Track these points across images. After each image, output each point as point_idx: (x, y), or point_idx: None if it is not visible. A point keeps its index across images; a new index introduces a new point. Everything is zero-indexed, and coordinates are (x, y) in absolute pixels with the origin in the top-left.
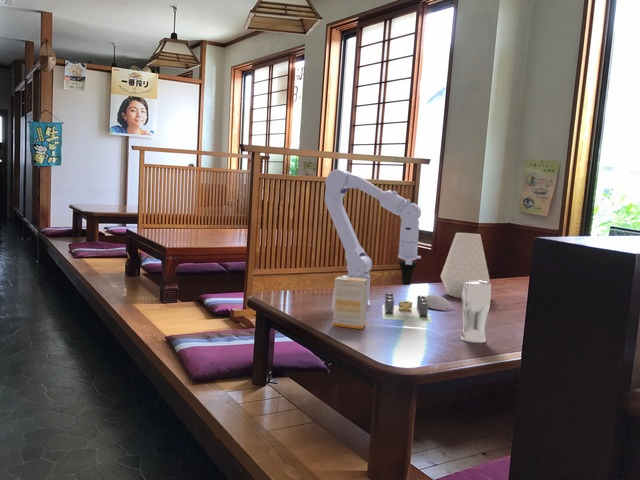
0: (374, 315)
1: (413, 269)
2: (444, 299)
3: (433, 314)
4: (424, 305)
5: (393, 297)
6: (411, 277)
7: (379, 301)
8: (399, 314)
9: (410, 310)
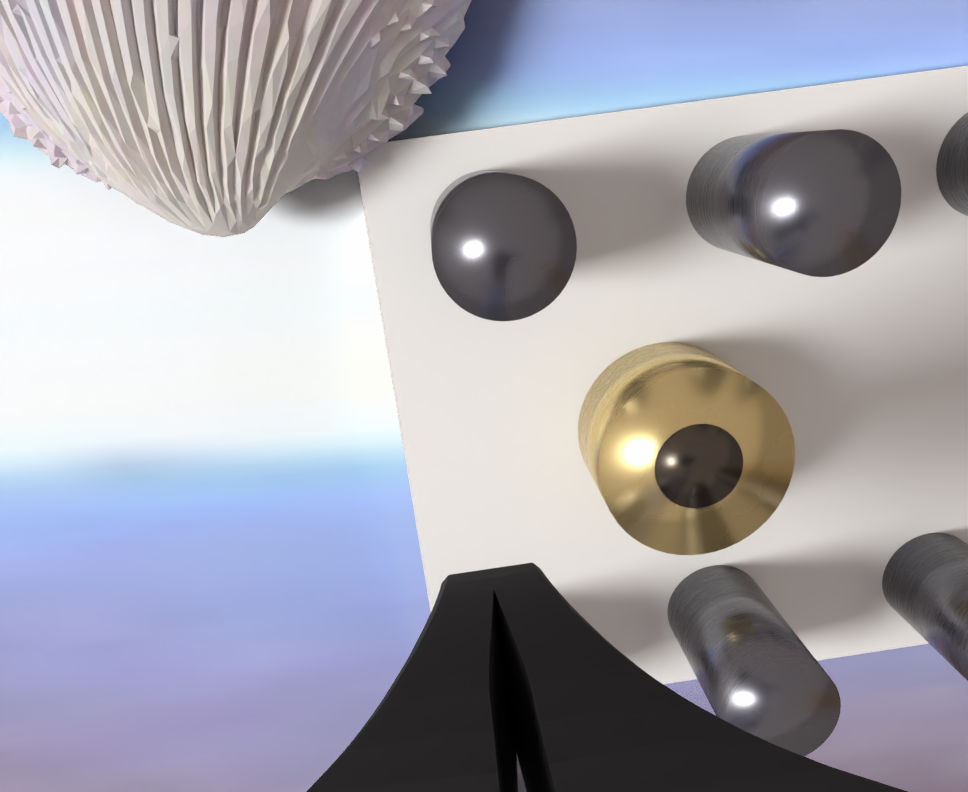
0: (953, 695)
1: (797, 770)
2: None
3: (640, 23)
4: None
5: (796, 661)
6: (593, 631)
7: (143, 775)
8: (946, 462)
9: (715, 356)
